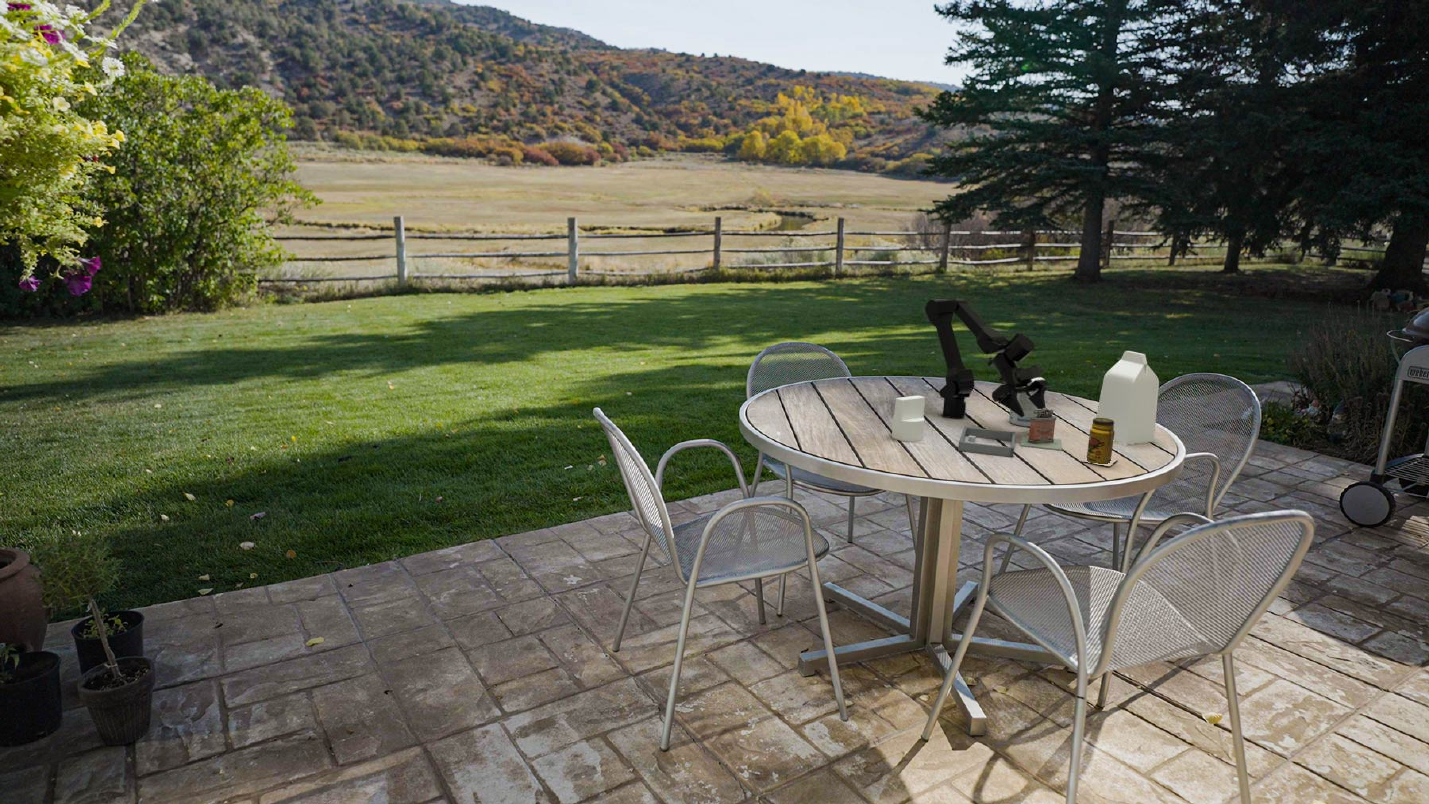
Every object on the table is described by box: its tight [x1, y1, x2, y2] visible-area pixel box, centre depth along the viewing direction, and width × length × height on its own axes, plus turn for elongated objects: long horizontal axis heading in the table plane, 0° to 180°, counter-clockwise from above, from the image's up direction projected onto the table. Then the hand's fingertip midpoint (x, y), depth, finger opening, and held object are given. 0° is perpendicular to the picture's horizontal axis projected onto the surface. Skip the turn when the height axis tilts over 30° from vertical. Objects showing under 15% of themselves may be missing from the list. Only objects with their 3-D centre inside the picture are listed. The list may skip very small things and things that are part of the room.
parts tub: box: [957, 426, 1017, 458], centre depth 242 cm, size 15×18×2 cm
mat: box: [1020, 434, 1063, 452], centre depth 245 cm, size 11×11×1 cm
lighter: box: [1028, 407, 1057, 444], centre depth 244 cm, size 8×3×10 cm, turn 105°
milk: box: [1095, 350, 1160, 445], centre depth 250 cm, size 12×12×26 cm
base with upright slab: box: [891, 395, 926, 443], centre depth 247 cm, size 9×9×12 cm
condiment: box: [1086, 417, 1115, 464], centre depth 228 cm, size 7×8×12 cm
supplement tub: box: [1008, 376, 1046, 428], centre depth 265 cm, size 10×10×15 cm
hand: (1034, 414), depth 246 cm, fingers open, 9 cm apart
